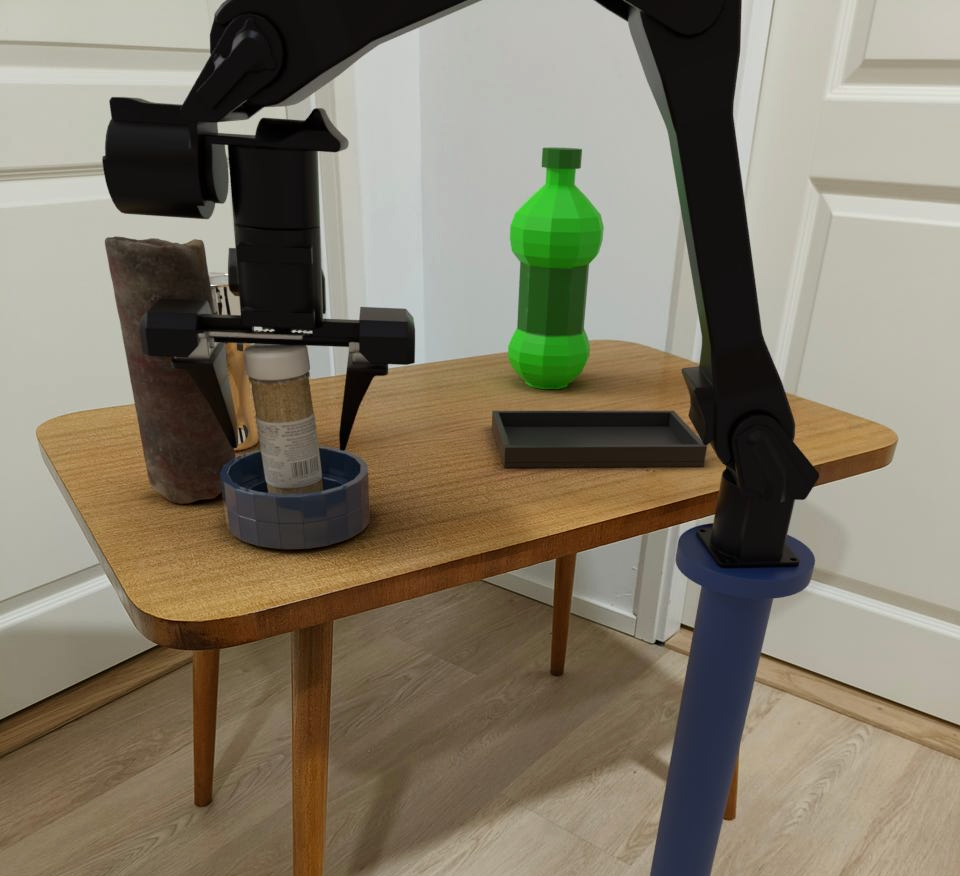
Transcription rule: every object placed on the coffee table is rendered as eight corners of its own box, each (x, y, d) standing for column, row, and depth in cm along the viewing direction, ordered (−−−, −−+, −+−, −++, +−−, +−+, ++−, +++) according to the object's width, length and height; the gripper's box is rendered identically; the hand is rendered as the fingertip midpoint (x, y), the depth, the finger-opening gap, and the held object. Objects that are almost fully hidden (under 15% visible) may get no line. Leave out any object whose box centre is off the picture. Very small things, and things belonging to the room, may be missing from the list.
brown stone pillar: (134, 485, 77) (87, 232, 67) (211, 466, 81) (179, 226, 71) (175, 512, 72) (132, 245, 62) (255, 491, 77) (227, 238, 66)
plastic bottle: (562, 369, 114) (579, 146, 101) (604, 391, 106) (628, 151, 93) (491, 375, 111) (499, 145, 98) (529, 399, 102) (543, 151, 89)
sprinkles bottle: (318, 502, 74) (297, 335, 67) (335, 522, 70) (315, 347, 63) (263, 513, 72) (236, 342, 65) (278, 534, 69) (251, 356, 62)
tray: (703, 466, 85) (707, 446, 84) (504, 467, 83) (505, 447, 82) (671, 429, 95) (674, 410, 93) (491, 429, 93) (492, 410, 92)
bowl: (369, 552, 67) (367, 496, 65) (217, 554, 66) (209, 497, 64) (370, 495, 77) (368, 444, 74) (237, 496, 76) (231, 445, 73)
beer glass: (278, 439, 88) (263, 278, 80) (226, 459, 83) (204, 288, 75) (227, 425, 91) (209, 269, 83) (174, 444, 86) (149, 278, 78)
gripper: (412, 217, 68) (409, 418, 76) (159, 203, 66) (183, 411, 74) (417, 237, 58) (413, 464, 67) (122, 223, 56) (154, 459, 65)
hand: (289, 447), depth 68 cm, fingers closed on sprinkles bottle, 8 cm apart
